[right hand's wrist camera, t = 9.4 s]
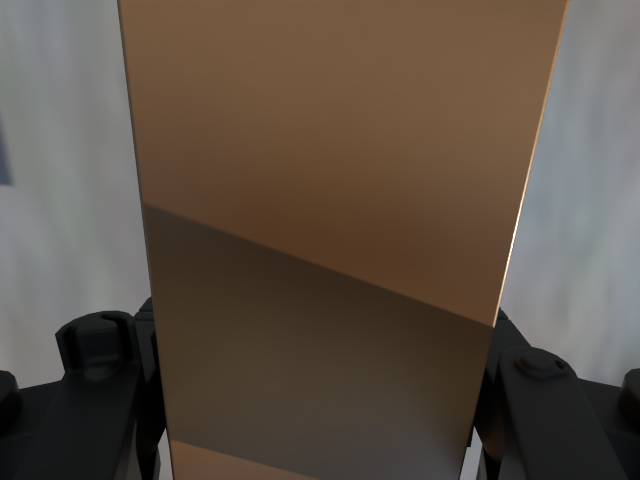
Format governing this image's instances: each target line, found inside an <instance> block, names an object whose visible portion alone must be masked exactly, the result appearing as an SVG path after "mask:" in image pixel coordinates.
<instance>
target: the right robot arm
mask: <svg viewBox="0 0 640 480" xmlns="http://www.w3.org/2000/svg"><path fill="white" fill-rule="evenodd" d="M55 336H56V340H57V344H58V348H59V351H60V355H61V359H62V363H63V366H64V370H65V374H64V376H63V378H62V380H60V381H56V382H52V383H47V384H42V385H37V386H33V387H28V388H23V389H19V388H18V385H17V382H16V379H15V376H14V375H12V374H11V373H10V372H9V371H2V370H0V480H159V473H160V465H161V463H160V455H159V450H158V443H159V441H160V439H161V437H162V434H163V432H164V430H165V428H166V431H167V424H166V415H165V407H164V398H163V389H162V381H161V372H160V364H159V355H158V347H157V338H156V330H155V321H154V312H153V304H152V296H151V297H150V298H148V299H147V300H146V302H145V303H144V304H143V305H142V307H141V308H140V309H139V312H137V313H136V314H135V316H134V317H133V316H131V315H130V314H129V313H126V312H121V311H101V312H96V313H91V314H87V315H85V316H82V317H79V318H77V319H74V320H72V321H71V322H69V323H67V324H66V325H64V326H62V327H61V329H60V330H59V331H58V332H57V333H56V334H55ZM474 426H475V428H476V431H477V433H478V435H479V437H480V440H481V442H482V450H481V455H480V460H479V466H478V471H477V477H476V480H640V368H638V369H632V370H630V371H629V372H628V373H627V374H625V378H624V381H623V384H622V387H617V386H612V385H607V384H602V383H597V382H592V381H587V380H583V379H580V378H578V377H577V375H576V373H575V371H574V370H573V369H572V368H571V366H570V365H569V364H568V363H567V362H565V361H564V360H563V359H561V358H560V357H558V356H557V355H555V354H552V353H550V352H548V351H545V350H543V349H539V348H534V347H531V346H530V344H529V343H528V342H527V341H526V339H525V338H524V337H523V336H522V334H521V333H520V332H519V330H518V329H517V328H516V327H515V325H514V324H513V323H512V322H511V320H508V317H507V315H506V314H505V313H504V312H503V310H501V308H500V307H499V310H498V315H497V319H496V323H495V328H494V332H493V336H492V341H491V345H490V349H489V354H488V358H487V362H486V367H485V371H484V375H483V380H482V384H481V388H480V393H479V397H478V402H477V406H476V410H475V415H474V419H473V423H472V428H471V432H470V436H469V441H468V445H467V447H471V441H472V435H473V430H474ZM167 437H168V432H167ZM168 443H169V441H168Z"/></svg>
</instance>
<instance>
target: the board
mask: <svg viewBox="0 0 640 480" xmlns="http://www.w3.org/2000/svg"><path fill="white" fill-rule="evenodd" d="M569 2H570V0H117V4H118V13H119V21H120V30H121V38H122V47H123V56H124V64H125V73H126V81H127V90H128V98H129V107H130V115H131V124H132V133H133V141H134V150H135V158H136V167H137V175H138V184H139V193H140V201H141V210H142V218H143V227H144V235H145V244H146V252H147V261H148V270H149V278H150V287H151V295H152V304H153V312H154V321H155V330H156V338H157V347H158V355H159V364H160V372H161V381H162V389H163V398H164V407H165V415H166V424H167V432H168V441H169V449H170V458H171V467H172V475H173V480H460V475H461V471H462V467H463V462H464V458H465V454H466V449H467V445H468V441H469V436H470V432H471V428H472V423H473V419H474V415H475V410H476V406H477V402H478V397H479V393H480V388H481V384H482V380H483V375H484V371H485V367H486V362H487V358H488V354H489V349H490V345H491V341H492V336H493V332H494V328H495V323H496V319H497V315H498V310H499V306H500V302H501V297H502V293H503V289H504V284H505V280H506V276H507V271H508V267H509V263H510V258H511V254H512V250H513V245H514V241H515V237H516V232H517V228H518V224H519V219H520V215H521V211H522V206H523V202H524V198H525V193H526V189H527V185H528V180H529V176H530V172H531V167H532V163H533V159H534V154H535V150H536V146H537V141H538V137H539V133H540V128H541V124H542V119H543V115H544V111H545V106H546V102H547V98H548V93H549V89H550V85H551V80H552V76H553V72H554V67H555V63H556V59H557V54H558V50H559V46H560V41H561V37H562V33H563V28H564V24H565V20H566V15H567V11H568V7H569Z"/></svg>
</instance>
